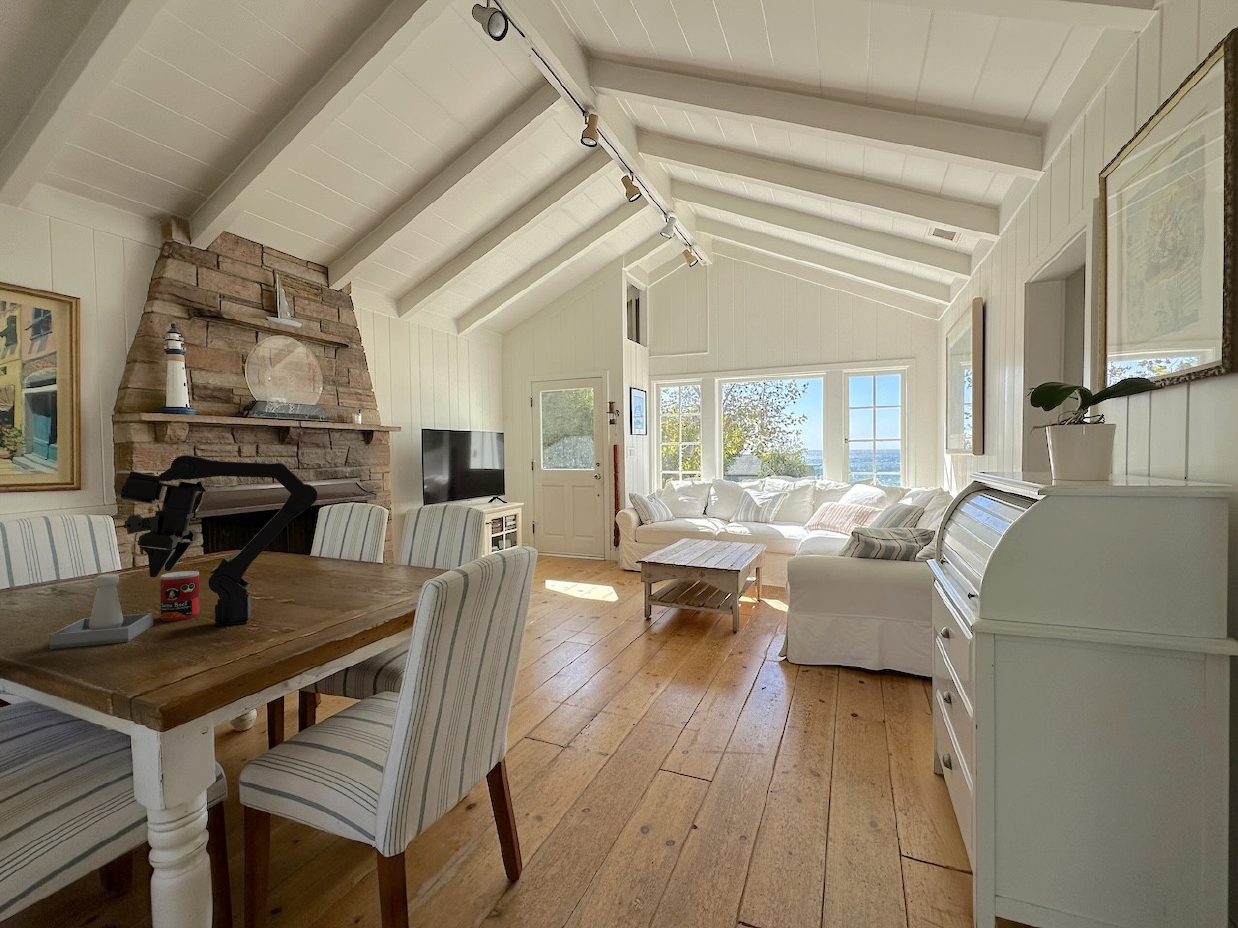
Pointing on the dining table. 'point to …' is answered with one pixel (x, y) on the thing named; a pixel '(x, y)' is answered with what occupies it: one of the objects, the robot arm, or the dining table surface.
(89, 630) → the tray
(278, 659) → the dining table surface
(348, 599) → the dining table surface
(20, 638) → the dining table surface
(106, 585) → the salt shaker
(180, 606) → the canned food
